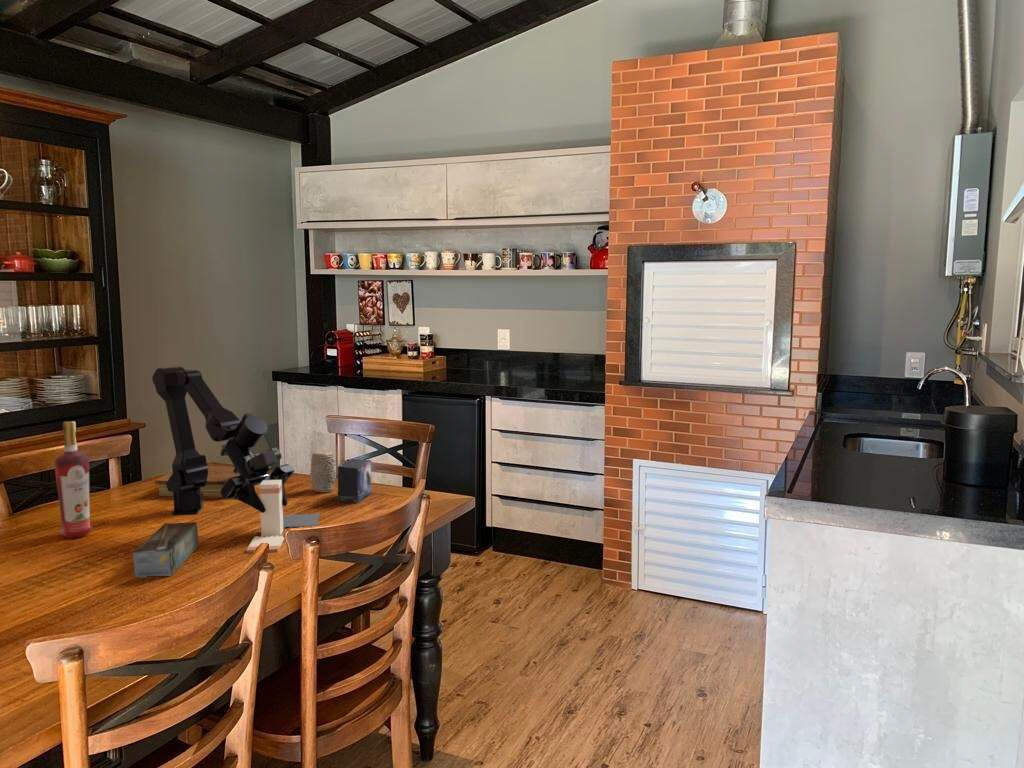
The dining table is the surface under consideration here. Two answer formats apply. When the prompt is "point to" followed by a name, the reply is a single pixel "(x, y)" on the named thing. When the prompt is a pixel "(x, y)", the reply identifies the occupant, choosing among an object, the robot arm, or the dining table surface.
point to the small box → (354, 480)
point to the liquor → (73, 486)
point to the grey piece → (166, 550)
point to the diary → (213, 484)
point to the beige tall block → (271, 507)
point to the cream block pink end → (271, 540)
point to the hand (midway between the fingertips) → (275, 508)
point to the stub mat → (300, 520)
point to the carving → (322, 471)
